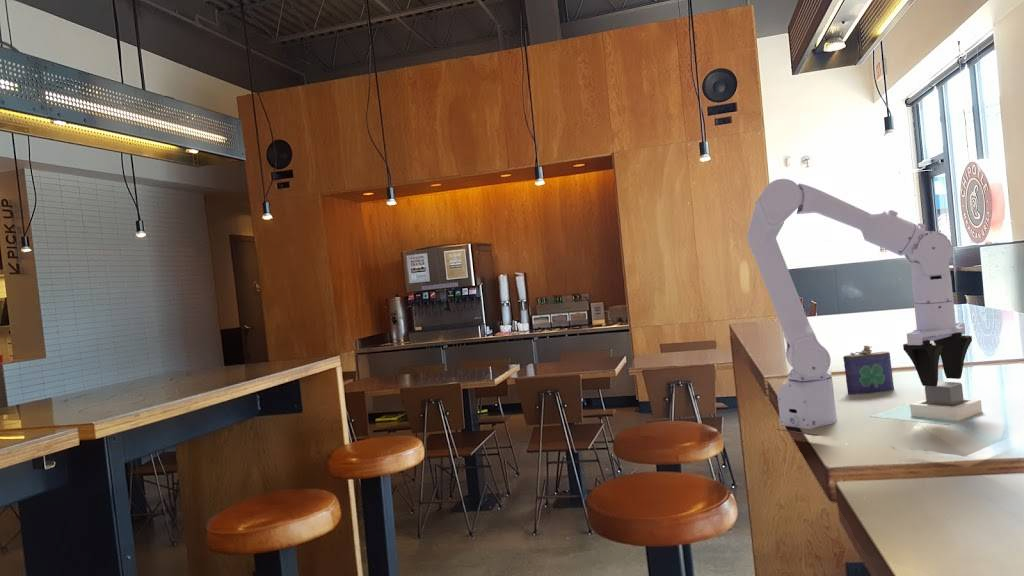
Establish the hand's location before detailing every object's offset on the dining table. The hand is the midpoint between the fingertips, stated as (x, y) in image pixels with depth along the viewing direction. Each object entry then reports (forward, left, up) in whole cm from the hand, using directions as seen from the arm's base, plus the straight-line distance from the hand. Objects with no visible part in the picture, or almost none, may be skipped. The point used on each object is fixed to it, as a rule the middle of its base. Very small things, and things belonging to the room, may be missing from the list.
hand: (941, 382), depth 117 cm
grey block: (0, 0, -5) cm, 5 cm away
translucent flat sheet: (-1, +3, -7) cm, 7 cm away
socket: (0, 0, -5) cm, 5 cm away
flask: (+13, +21, -7) cm, 26 cm away
